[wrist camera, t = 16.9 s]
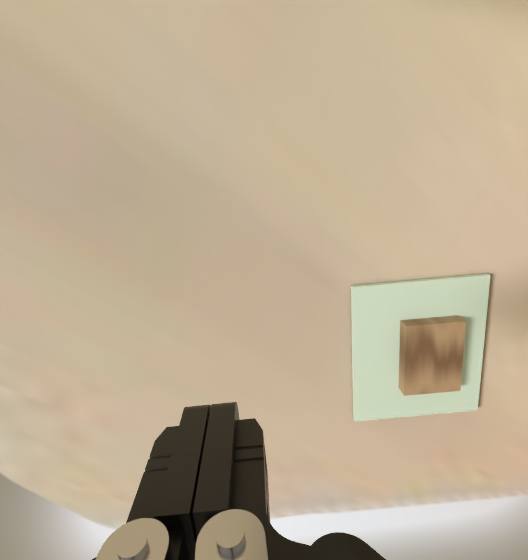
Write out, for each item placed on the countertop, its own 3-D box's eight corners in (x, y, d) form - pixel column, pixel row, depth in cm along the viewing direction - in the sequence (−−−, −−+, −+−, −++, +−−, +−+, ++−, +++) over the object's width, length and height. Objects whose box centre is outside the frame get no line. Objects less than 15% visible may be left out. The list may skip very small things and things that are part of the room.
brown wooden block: (406, 326, 37) (466, 321, 37) (400, 320, 39) (457, 315, 39) (404, 395, 39) (460, 390, 39) (398, 387, 41) (452, 382, 41)
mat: (350, 285, 38) (352, 287, 37) (487, 273, 38) (490, 274, 37) (353, 418, 43) (354, 421, 42) (474, 406, 43) (477, 410, 42)
